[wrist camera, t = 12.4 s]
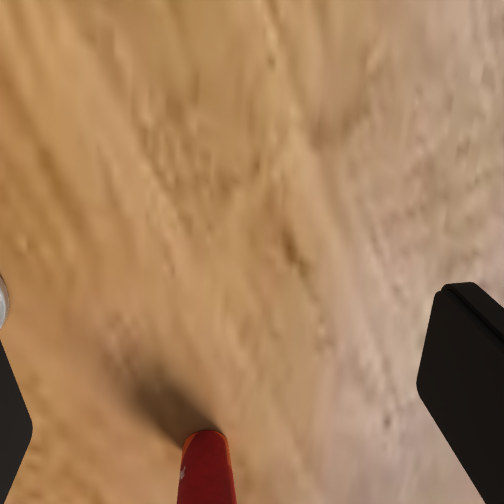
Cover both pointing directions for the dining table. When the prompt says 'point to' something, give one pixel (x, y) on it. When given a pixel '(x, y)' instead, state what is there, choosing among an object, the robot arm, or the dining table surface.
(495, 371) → the robot arm
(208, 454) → the paper cup
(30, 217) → the dining table surface
